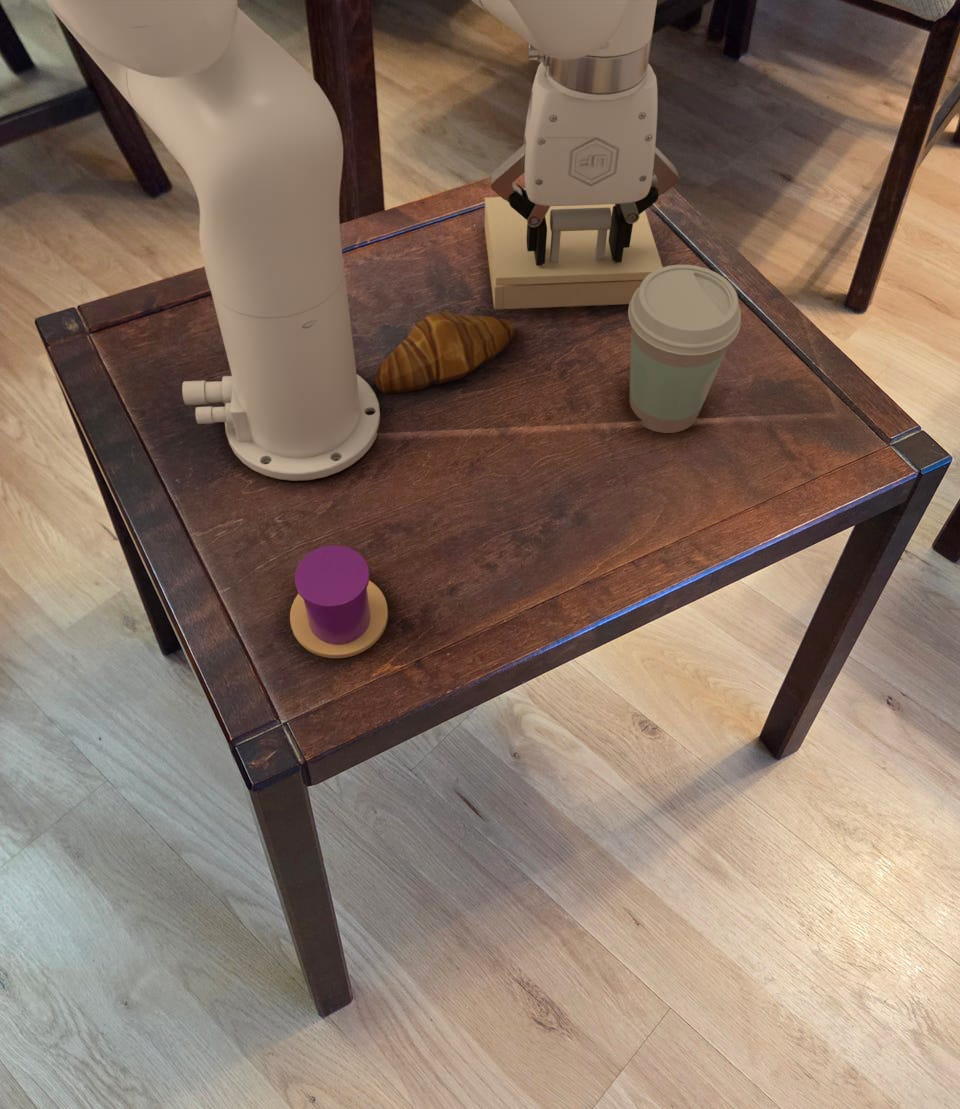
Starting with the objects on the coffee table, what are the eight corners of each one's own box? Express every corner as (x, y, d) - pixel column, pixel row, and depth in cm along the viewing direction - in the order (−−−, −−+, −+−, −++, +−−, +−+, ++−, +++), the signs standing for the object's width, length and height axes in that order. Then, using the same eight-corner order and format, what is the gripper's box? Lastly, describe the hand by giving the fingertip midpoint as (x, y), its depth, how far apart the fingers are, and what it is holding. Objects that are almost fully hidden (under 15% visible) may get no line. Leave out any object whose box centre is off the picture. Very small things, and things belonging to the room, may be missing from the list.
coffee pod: (303, 650, 74) (293, 608, 69) (305, 591, 77) (295, 546, 72) (375, 646, 74) (369, 603, 70) (374, 587, 77) (368, 543, 73)
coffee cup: (711, 453, 86) (742, 343, 76) (606, 437, 87) (624, 326, 77) (718, 380, 91) (749, 267, 81) (619, 365, 92) (638, 252, 82)
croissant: (490, 316, 95) (492, 272, 91) (532, 361, 92) (535, 317, 88) (357, 371, 91) (352, 327, 87) (396, 421, 87) (392, 377, 83)
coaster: (289, 661, 74) (288, 657, 74) (292, 579, 78) (291, 575, 78) (389, 655, 74) (388, 652, 74) (387, 574, 78) (386, 570, 78)
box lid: (662, 279, 92) (672, 222, 88) (495, 285, 91) (497, 228, 87) (638, 199, 100) (646, 144, 95) (484, 205, 99) (485, 149, 95)
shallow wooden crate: (654, 309, 96) (659, 280, 93) (493, 315, 95) (494, 287, 92) (633, 229, 102) (638, 199, 100) (484, 234, 102) (484, 205, 99)
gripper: (484, 86, 75) (481, 286, 90) (723, 79, 76) (681, 278, 91) (477, 31, 79) (475, 230, 94) (703, 25, 80) (666, 223, 95)
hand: (576, 252), depth 92 cm, fingers open, 6 cm apart
